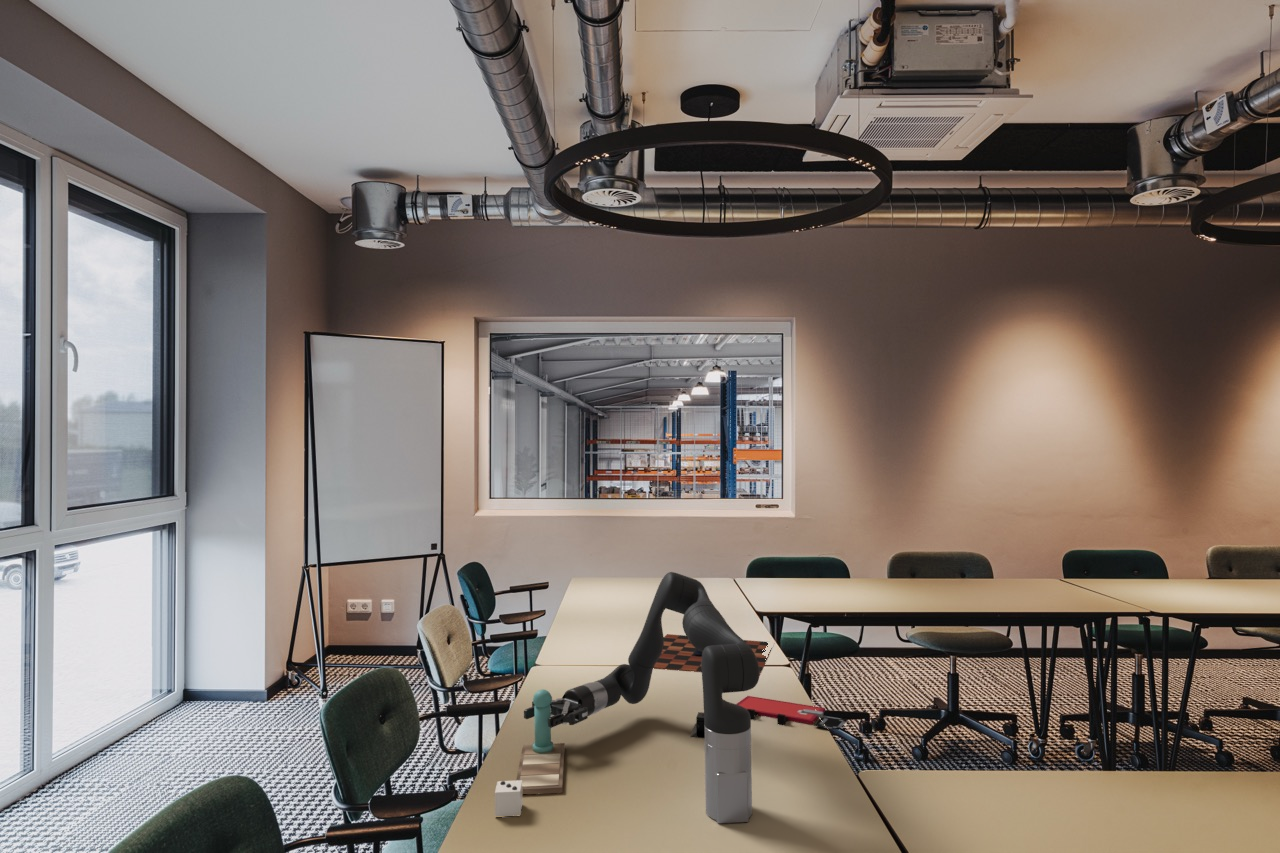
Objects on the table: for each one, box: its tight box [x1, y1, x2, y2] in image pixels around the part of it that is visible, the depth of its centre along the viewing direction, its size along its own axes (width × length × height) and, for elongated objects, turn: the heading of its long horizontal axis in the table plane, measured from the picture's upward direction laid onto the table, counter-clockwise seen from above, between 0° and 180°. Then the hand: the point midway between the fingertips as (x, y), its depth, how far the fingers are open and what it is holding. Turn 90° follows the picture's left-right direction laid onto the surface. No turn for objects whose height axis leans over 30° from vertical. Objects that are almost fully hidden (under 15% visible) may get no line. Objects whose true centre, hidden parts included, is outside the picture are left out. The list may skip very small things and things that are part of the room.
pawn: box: [532, 689, 554, 753], centre depth 184 cm, size 5×5×14 cm
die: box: [494, 780, 523, 817], centre depth 157 cm, size 5×5×6 cm
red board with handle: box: [735, 695, 848, 731], centre depth 208 cm, size 30×3×15 cm
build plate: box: [690, 712, 705, 739], centre depth 198 cm, size 12×7×5 cm, turn 168°
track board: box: [515, 742, 566, 795], centre depth 176 cm, size 24×10×1 cm, turn 4°
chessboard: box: [653, 633, 768, 677], centre depth 266 cm, size 40×40×11 cm
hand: (536, 718), depth 183 cm, fingers open, 8 cm apart
